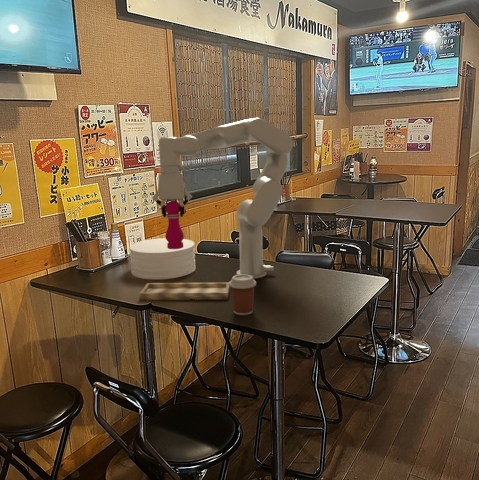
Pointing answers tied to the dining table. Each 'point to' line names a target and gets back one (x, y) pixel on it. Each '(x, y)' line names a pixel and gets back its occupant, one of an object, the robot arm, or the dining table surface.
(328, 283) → the dining table surface
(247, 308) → the coffee cup
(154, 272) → the plate stack
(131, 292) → the dining table surface
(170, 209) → the pepper mill
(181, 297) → the birch tray
